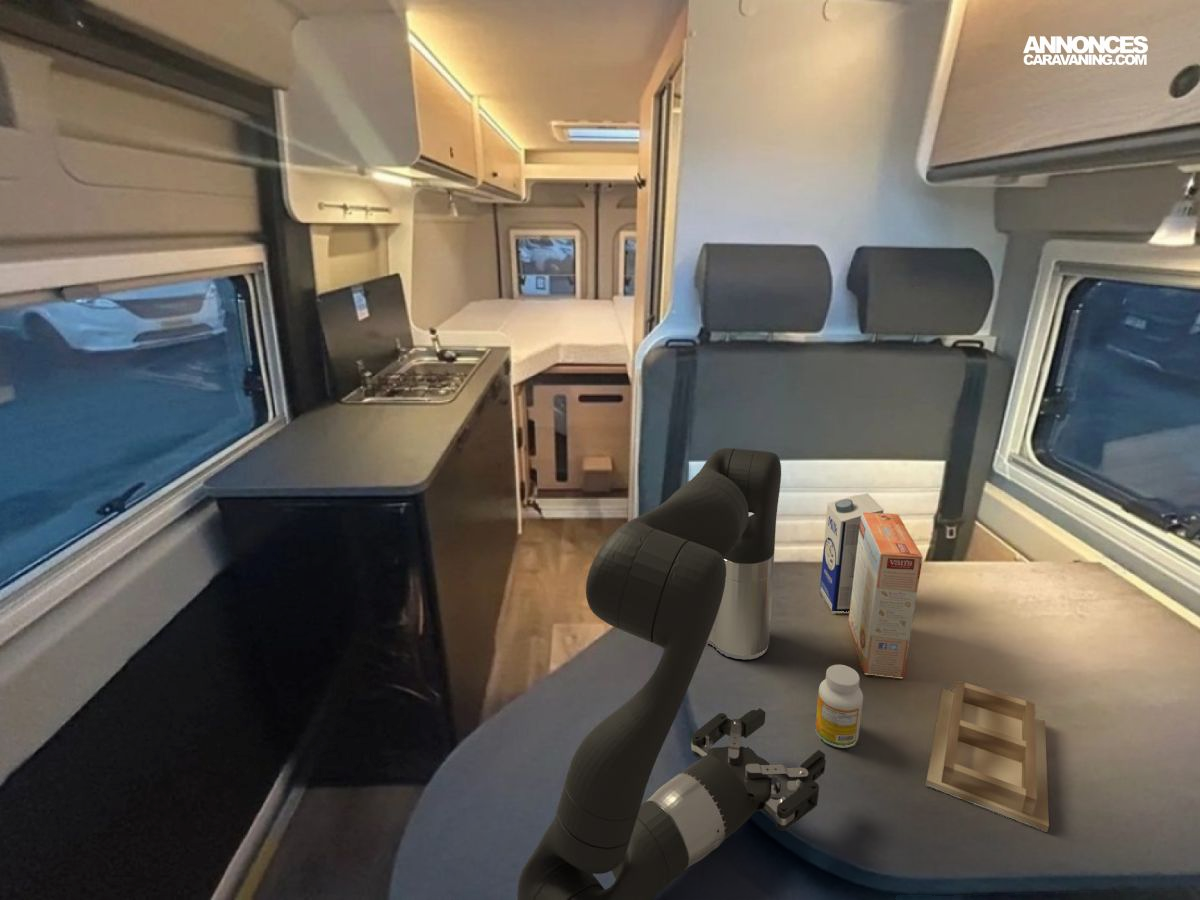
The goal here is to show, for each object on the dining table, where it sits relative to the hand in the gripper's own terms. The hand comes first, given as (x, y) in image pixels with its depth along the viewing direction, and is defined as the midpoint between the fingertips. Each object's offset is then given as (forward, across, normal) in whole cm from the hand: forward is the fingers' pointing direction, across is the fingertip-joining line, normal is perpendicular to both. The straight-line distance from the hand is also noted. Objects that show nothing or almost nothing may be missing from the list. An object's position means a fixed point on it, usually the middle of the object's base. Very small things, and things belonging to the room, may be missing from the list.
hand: (791, 735), depth 75 cm
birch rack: (+22, -14, +6) cm, 26 cm away
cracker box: (+30, +6, +6) cm, 31 cm away
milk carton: (+38, +16, +6) cm, 42 cm away
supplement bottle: (+10, 0, +6) cm, 12 cm away
